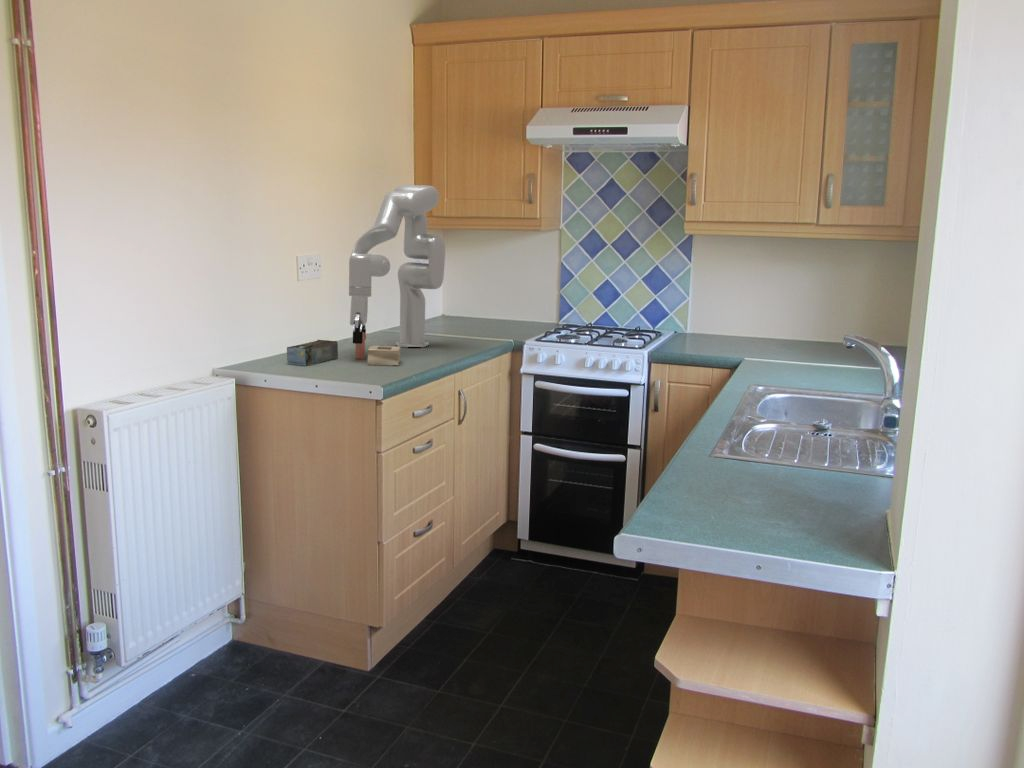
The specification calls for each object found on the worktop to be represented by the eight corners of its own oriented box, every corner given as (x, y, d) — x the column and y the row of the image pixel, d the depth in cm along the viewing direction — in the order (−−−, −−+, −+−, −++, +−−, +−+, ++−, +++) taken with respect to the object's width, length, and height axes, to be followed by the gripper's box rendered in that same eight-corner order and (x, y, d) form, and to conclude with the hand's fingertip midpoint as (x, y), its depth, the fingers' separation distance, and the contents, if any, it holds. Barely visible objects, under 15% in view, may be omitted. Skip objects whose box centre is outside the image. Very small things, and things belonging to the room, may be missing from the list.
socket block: (370, 360, 295) (371, 345, 294) (400, 360, 295) (400, 346, 294) (367, 365, 285) (367, 350, 284) (398, 365, 285) (398, 351, 284)
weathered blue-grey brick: (285, 364, 281) (285, 344, 280) (319, 357, 299) (319, 338, 298) (305, 367, 278) (305, 347, 277) (339, 359, 296) (339, 340, 295)
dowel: (356, 357, 299) (356, 331, 297) (365, 357, 299) (365, 332, 297) (354, 359, 296) (354, 333, 294) (364, 359, 296) (364, 333, 294)
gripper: (352, 289, 301) (351, 338, 304) (345, 293, 284) (344, 344, 287) (373, 290, 301) (372, 339, 304) (368, 294, 284) (367, 345, 287)
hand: (359, 341), depth 296 cm, fingers open, 9 cm apart
